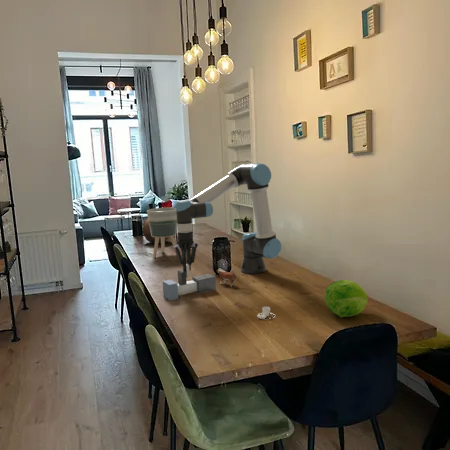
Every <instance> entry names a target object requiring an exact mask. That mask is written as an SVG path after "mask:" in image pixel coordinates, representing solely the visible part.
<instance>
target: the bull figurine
mask: <svg viewBox="0 0 450 450" xmlns="http://www.w3.org/2000/svg"><path fill="white" fill-rule="evenodd" d="M216 272H217V273H218V274H219V277H220V283H219V285H222V283H223V281H224V283H223V284H227V282H229V281H230V287H233V284H235V282H236V278H237V277H236V274H235V273H234V272H229V271H226V270H225V269H222V268H218V269H216ZM226 281H227V282H226Z"/></svg>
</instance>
